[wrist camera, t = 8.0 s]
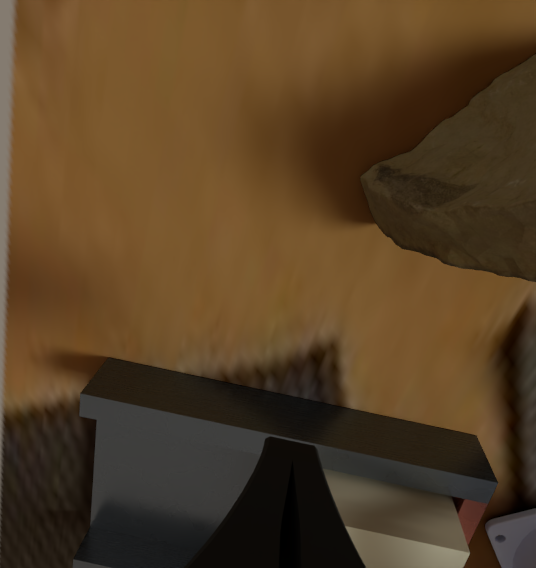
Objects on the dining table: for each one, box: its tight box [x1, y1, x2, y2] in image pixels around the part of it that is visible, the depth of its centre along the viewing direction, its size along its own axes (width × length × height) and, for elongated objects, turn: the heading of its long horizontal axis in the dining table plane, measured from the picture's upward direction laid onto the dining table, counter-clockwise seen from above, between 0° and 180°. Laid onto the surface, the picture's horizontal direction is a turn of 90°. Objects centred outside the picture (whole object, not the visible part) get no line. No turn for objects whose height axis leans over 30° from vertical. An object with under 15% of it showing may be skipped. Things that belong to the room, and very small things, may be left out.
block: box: [323, 469, 470, 568], centre depth 22 cm, size 6×8×4 cm
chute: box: [73, 358, 498, 568], centre depth 24 cm, size 18×11×3 cm, turn 79°
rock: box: [360, 54, 536, 282], centre depth 15 cm, size 11×9×10 cm
